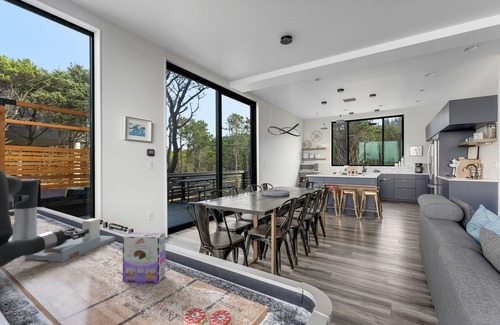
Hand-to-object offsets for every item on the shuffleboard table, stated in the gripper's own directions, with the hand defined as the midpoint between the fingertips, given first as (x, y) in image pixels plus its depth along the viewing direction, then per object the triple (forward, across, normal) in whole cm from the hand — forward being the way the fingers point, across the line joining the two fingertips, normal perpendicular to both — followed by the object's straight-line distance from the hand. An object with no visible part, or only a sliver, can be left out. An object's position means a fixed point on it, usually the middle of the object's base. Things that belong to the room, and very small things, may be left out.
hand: (81, 230), depth 120 cm
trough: (-4, 0, +8) cm, 9 cm away
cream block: (+6, 0, +6) cm, 8 cm away
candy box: (-25, -53, +8) cm, 59 cm away
